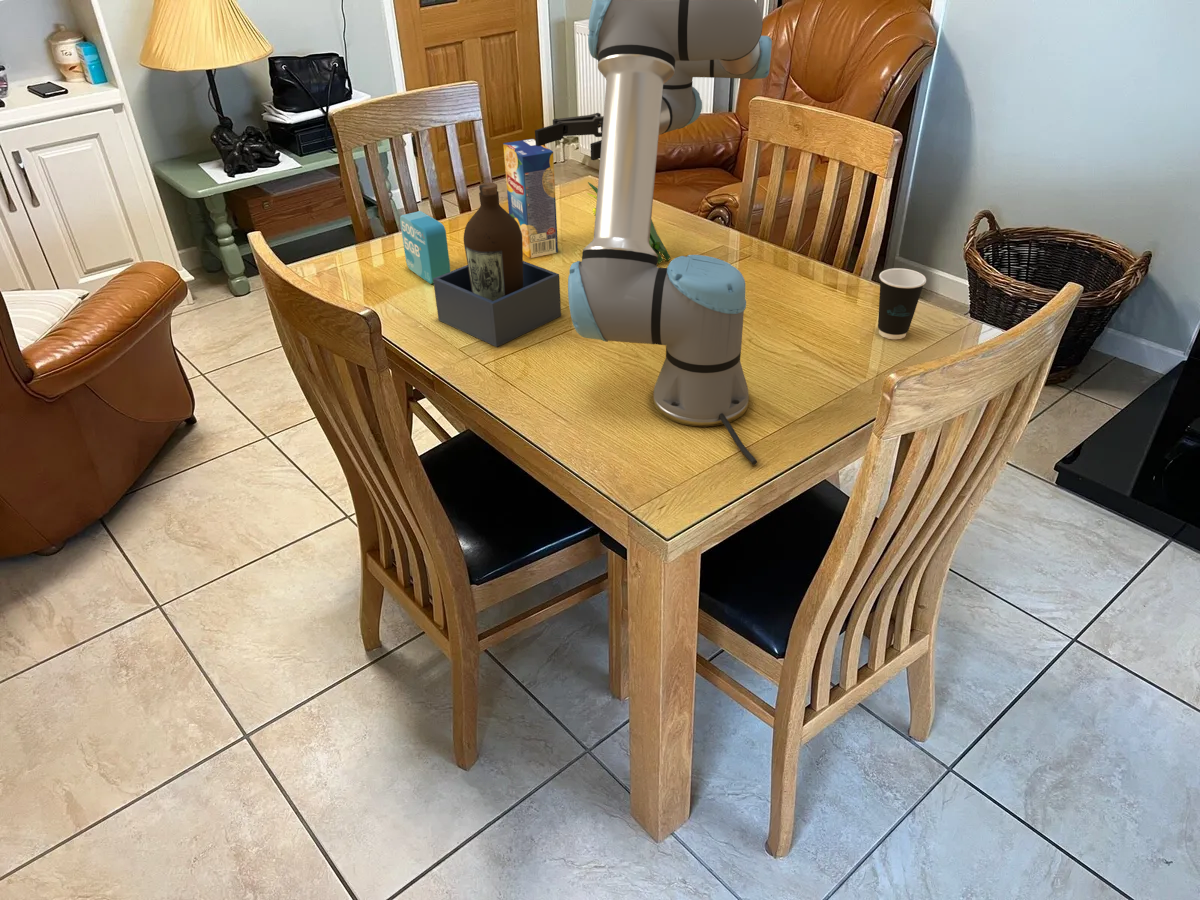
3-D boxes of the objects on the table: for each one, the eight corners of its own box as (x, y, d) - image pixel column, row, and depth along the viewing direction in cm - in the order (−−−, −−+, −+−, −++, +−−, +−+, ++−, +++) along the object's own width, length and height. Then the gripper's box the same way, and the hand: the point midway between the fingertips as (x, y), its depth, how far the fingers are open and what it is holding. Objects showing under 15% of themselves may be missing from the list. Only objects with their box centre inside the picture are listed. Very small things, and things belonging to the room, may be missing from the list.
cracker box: (538, 236, 204) (532, 138, 192) (558, 252, 196) (553, 151, 183) (511, 241, 202) (503, 143, 189) (529, 258, 194) (522, 156, 181)
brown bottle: (487, 299, 176) (475, 173, 161) (536, 306, 172) (528, 178, 158) (462, 322, 167) (446, 191, 153) (513, 330, 164) (501, 198, 150)
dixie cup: (888, 347, 158) (899, 289, 151) (860, 328, 164) (869, 272, 158) (924, 338, 160) (936, 281, 154) (895, 320, 166) (906, 264, 160)
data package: (406, 268, 191) (398, 213, 184) (425, 262, 193) (418, 208, 186) (432, 286, 183) (425, 230, 176) (452, 280, 185) (445, 224, 178)
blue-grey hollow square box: (561, 315, 170) (559, 274, 165) (496, 347, 160) (492, 303, 155) (502, 292, 180) (499, 251, 175) (438, 320, 170) (432, 278, 165)
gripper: (692, 151, 165) (617, 180, 152) (592, 129, 179) (516, 153, 166) (693, 109, 161) (616, 135, 148) (592, 89, 175) (513, 111, 162)
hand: (563, 145), depth 157 cm, fingers open, 13 cm apart
